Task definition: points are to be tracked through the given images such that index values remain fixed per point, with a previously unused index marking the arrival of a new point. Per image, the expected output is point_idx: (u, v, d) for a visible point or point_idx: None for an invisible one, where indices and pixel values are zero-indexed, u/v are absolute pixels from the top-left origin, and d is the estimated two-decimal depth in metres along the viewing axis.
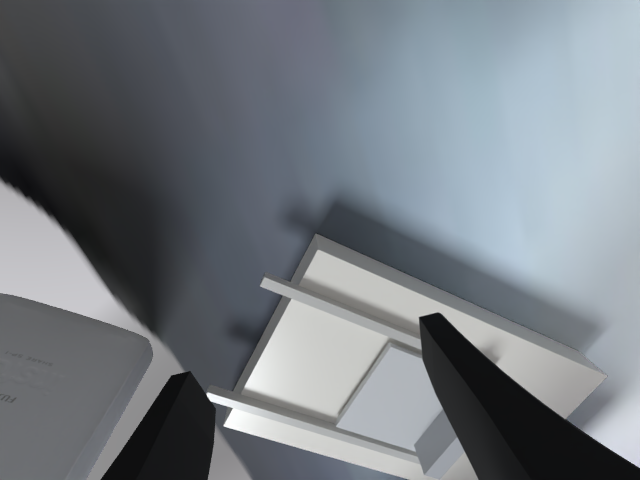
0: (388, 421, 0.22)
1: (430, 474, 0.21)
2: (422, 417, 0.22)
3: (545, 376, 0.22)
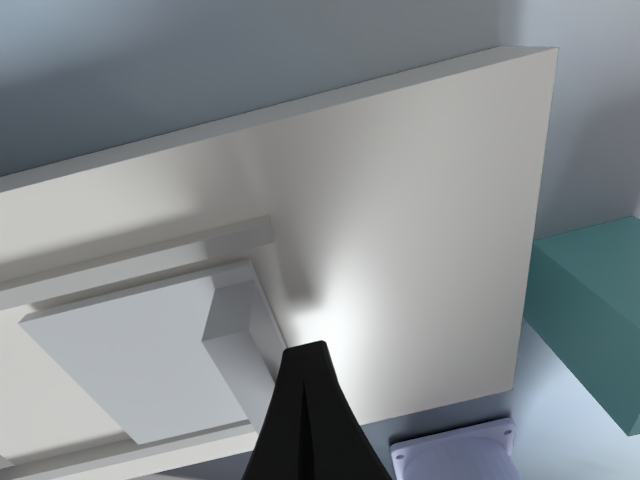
0: (191, 403, 0.12)
1: None
2: None
3: (397, 160, 0.09)
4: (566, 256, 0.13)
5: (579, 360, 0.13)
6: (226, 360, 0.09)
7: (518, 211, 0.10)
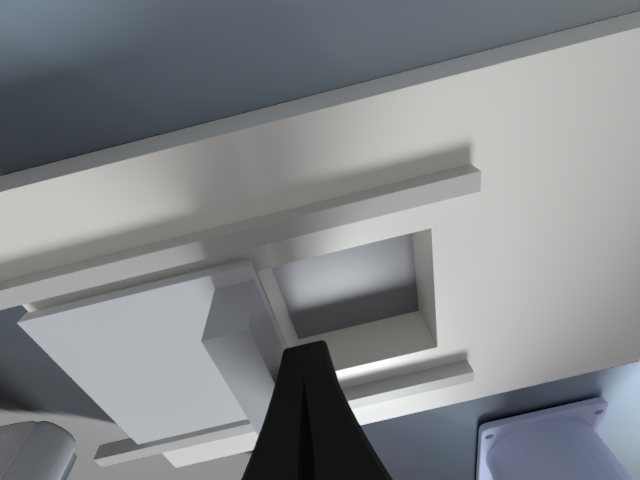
0: (191, 403, 0.12)
1: None
2: None
3: (611, 106, 0.09)
4: None
5: None
6: (226, 360, 0.09)
7: None
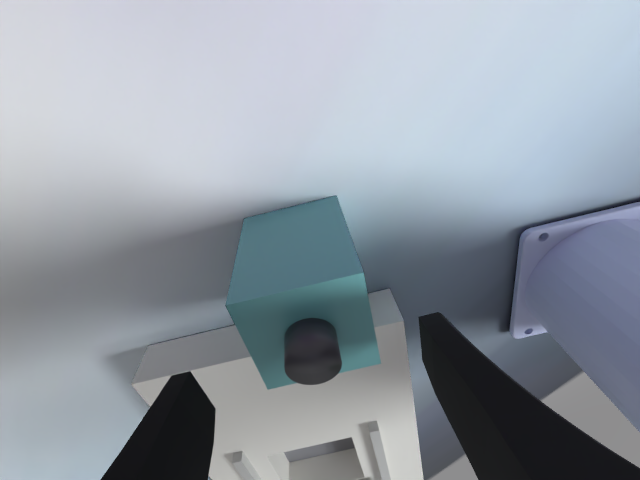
0: None
1: None
2: None
3: None
4: None
5: None
6: None
7: (219, 372, 0.17)
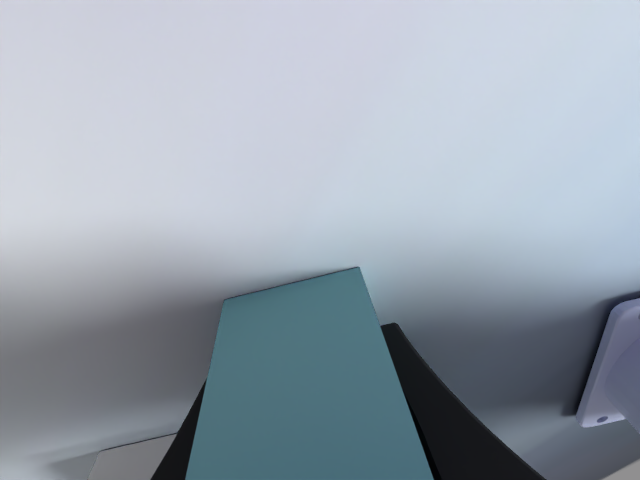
0: None
1: None
2: None
3: None
4: None
5: None
6: None
7: None
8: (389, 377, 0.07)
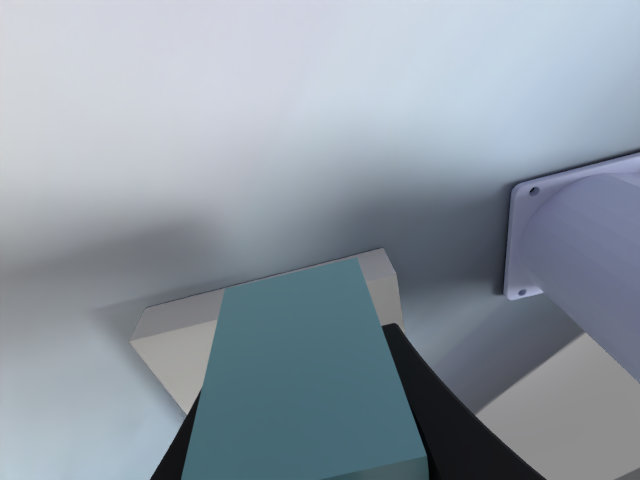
0: None
1: None
2: None
3: (196, 382, 0.19)
4: None
5: None
6: None
7: (215, 328, 0.17)
8: (384, 358, 0.07)
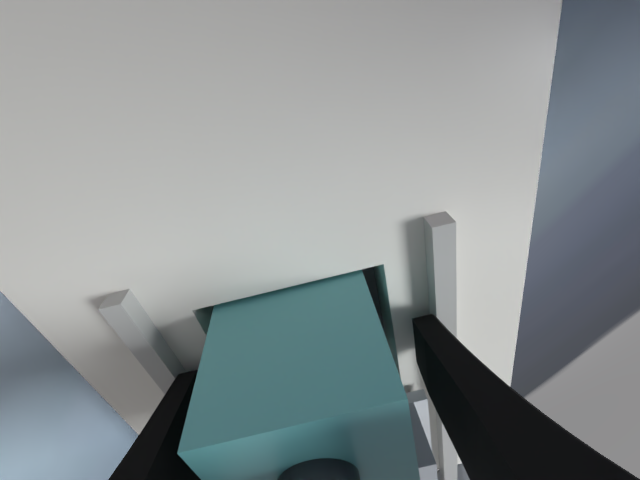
0: None
1: (430, 478, 0.10)
2: None
3: None
4: None
5: None
6: None
7: None
8: (372, 320, 0.08)
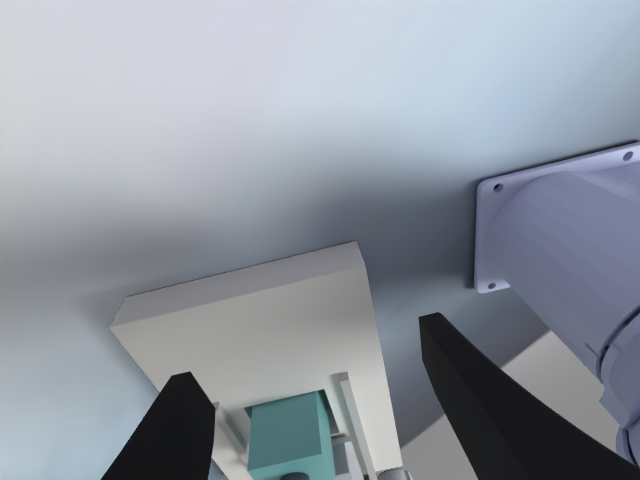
0: None
1: (347, 478, 0.23)
2: None
3: (175, 369, 0.20)
4: None
5: None
6: None
7: (192, 316, 0.18)
8: (315, 419, 0.21)
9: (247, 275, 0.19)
